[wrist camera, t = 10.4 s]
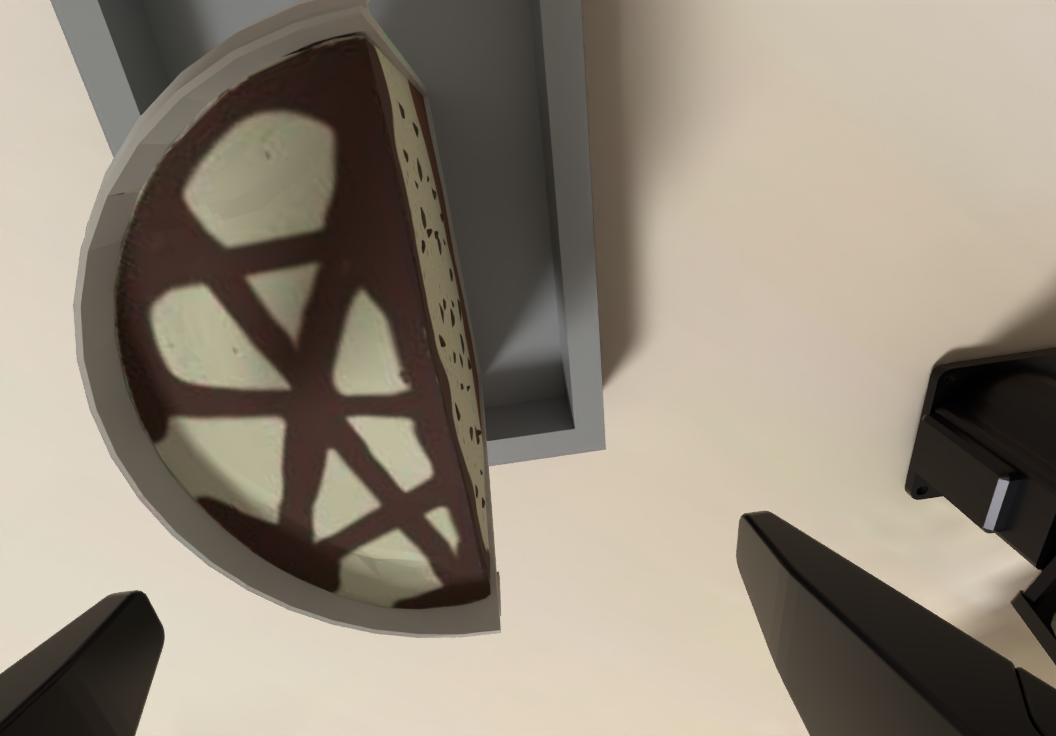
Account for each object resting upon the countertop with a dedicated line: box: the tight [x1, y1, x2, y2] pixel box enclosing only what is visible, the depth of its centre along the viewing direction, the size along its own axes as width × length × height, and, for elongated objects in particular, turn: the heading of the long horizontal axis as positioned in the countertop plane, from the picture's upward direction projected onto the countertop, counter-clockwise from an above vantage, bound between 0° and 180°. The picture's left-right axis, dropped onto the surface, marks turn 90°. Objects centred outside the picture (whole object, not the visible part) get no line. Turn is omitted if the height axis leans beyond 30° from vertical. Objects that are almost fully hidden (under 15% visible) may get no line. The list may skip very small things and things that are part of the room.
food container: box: [73, 0, 501, 638], centre depth 14 cm, size 12×6×10 cm, turn 7°
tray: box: [50, 0, 606, 466], centre depth 17 cm, size 12×17×3 cm
